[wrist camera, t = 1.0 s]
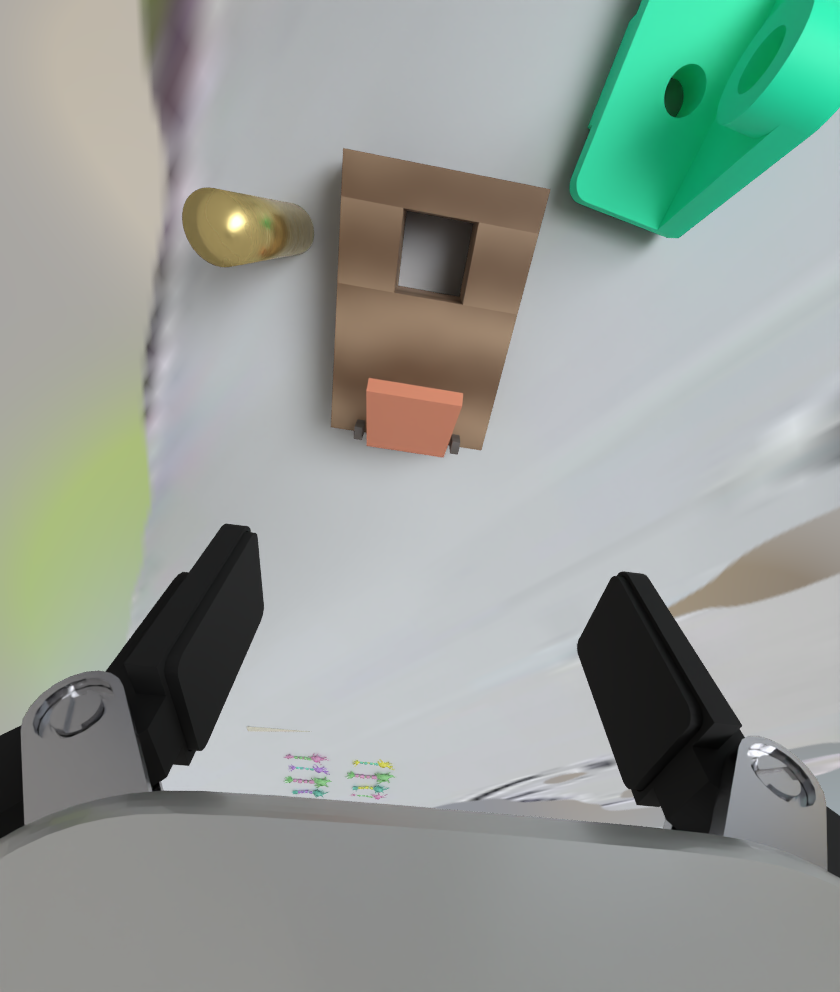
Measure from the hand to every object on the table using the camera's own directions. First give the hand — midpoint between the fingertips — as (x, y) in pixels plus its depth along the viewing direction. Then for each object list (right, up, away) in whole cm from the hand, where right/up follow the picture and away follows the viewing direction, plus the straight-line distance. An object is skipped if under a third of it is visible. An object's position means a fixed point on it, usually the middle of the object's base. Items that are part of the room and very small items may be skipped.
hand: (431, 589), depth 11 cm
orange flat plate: (-1, +8, +18) cm, 20 cm away
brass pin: (-9, +21, +18) cm, 29 cm away
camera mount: (+14, +26, +14) cm, 33 cm away
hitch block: (0, +16, +20) cm, 26 cm away
